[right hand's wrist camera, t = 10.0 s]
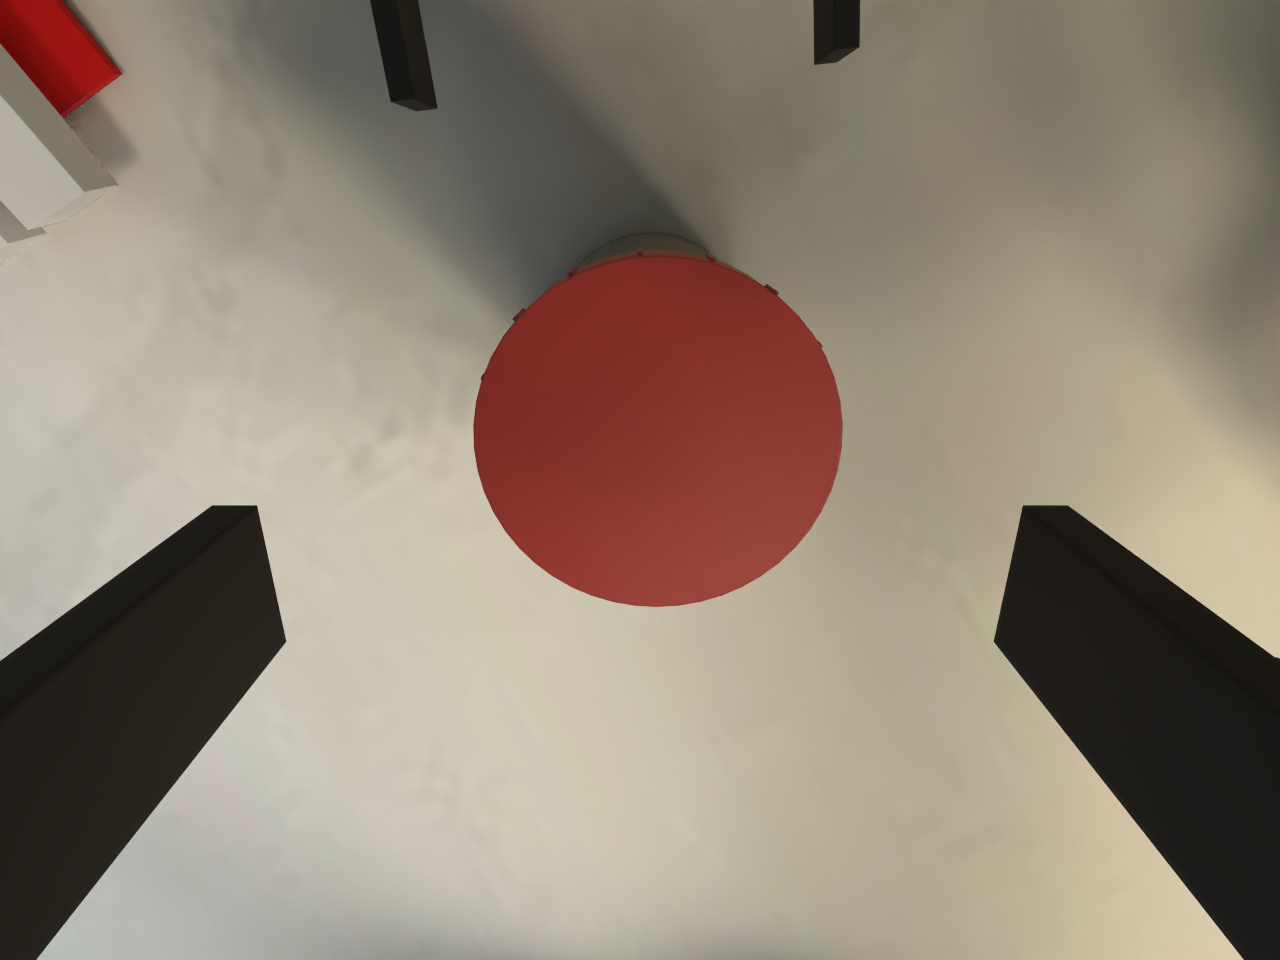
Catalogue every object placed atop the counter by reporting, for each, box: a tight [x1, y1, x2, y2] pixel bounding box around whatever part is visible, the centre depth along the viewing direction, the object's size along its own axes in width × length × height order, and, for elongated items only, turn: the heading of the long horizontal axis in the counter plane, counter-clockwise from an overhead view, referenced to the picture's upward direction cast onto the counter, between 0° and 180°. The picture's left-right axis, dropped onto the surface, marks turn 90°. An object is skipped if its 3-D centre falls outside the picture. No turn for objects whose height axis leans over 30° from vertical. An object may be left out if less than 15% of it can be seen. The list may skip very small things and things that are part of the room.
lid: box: [474, 247, 843, 607], centre depth 18 cm, size 9×9×2 cm
